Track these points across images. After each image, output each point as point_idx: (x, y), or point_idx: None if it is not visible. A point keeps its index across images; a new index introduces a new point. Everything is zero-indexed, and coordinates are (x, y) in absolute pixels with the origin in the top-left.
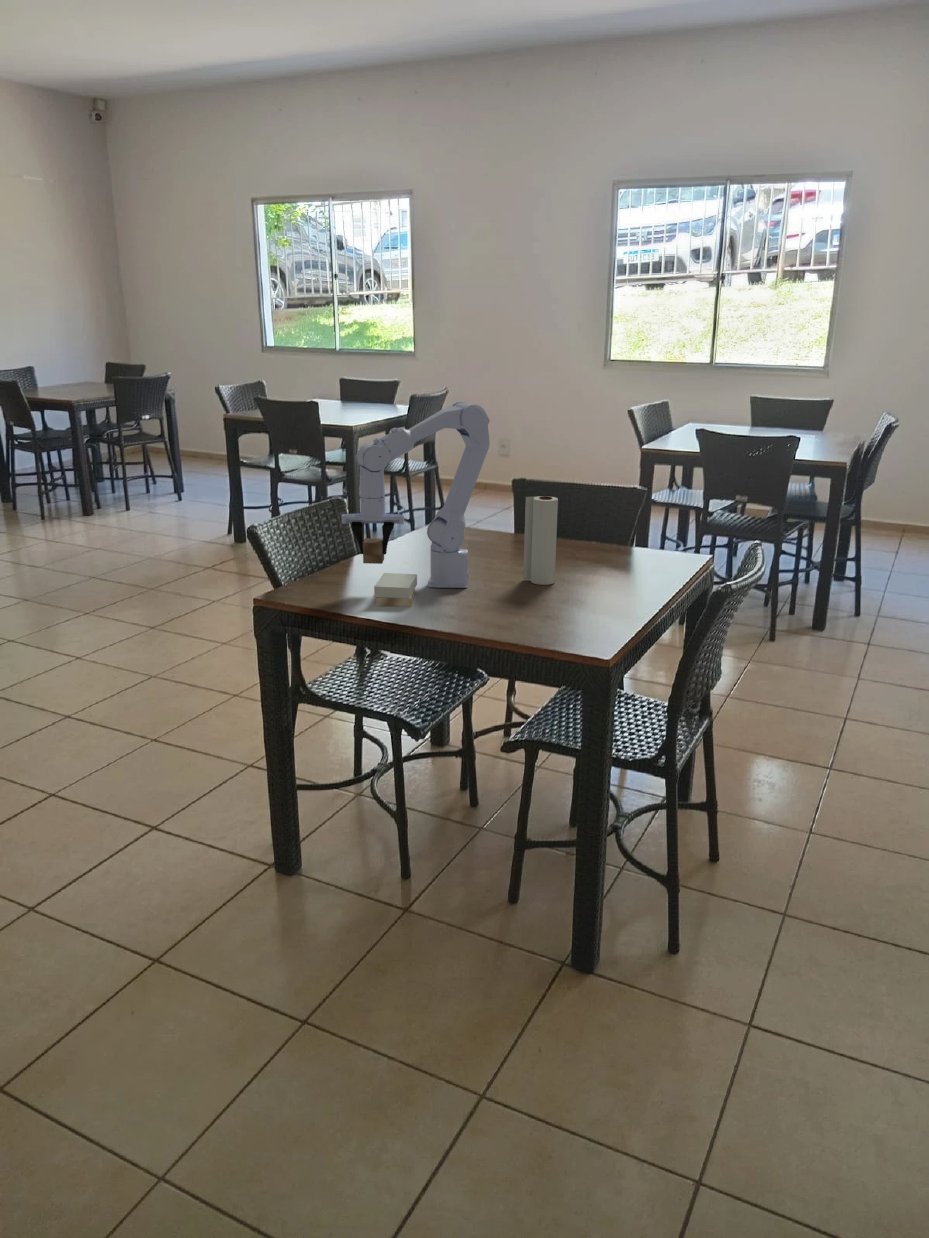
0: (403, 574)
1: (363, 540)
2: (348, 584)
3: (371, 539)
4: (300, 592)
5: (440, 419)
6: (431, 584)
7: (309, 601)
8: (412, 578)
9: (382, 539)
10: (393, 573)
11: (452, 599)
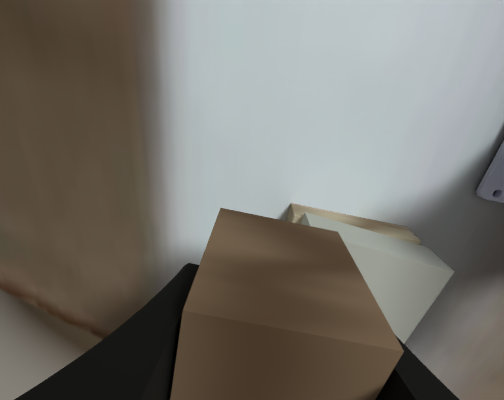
0: (394, 266)
1: (168, 367)
2: (167, 87)
3: (254, 365)
4: (3, 173)
5: None
6: (499, 181)
7: (62, 270)
8: (410, 322)
9: (374, 382)
10: (354, 246)
11: (486, 316)
